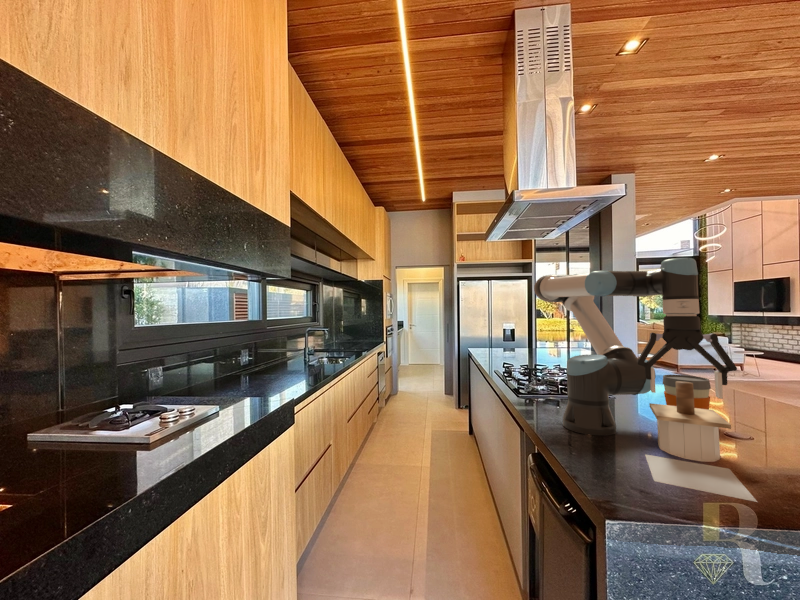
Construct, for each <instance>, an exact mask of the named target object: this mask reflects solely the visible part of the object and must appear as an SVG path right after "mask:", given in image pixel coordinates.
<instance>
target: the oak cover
mask: <svg viewBox="0 0 800 600" xmlns="http://www.w3.org/2000/svg"><path fill="white" fill-rule="evenodd" d="M676 403H677V406H670V405H666V404H660V403H659V404H658V403H650V402H649V408H650V410H651V411H652V413H653V416H654V417H655V418H656V421H657V420H664V421H672V422H680V423H688V424H696V425H704V426H712V427H719V429H720V428H721V429H728V430H729V429H730V430H732V424H731V423H730V422H728V421H727V420H726V419H725V418H724V417H722V416H721V415H720V414H719V413H717V411H715V410H714V409H709V410H708V409H699V408H694V390H693V383H691V382H683V381H676Z"/></svg>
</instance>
